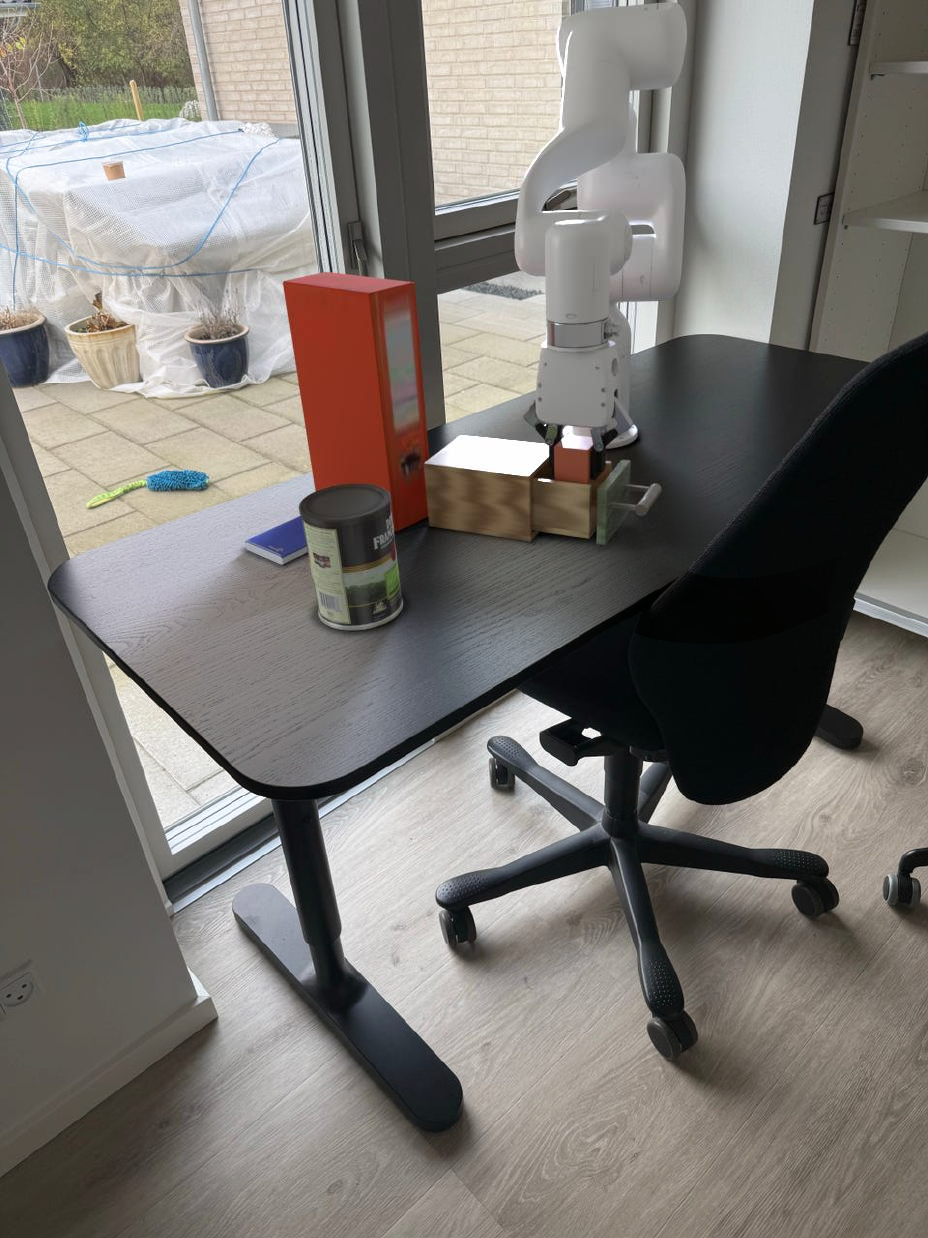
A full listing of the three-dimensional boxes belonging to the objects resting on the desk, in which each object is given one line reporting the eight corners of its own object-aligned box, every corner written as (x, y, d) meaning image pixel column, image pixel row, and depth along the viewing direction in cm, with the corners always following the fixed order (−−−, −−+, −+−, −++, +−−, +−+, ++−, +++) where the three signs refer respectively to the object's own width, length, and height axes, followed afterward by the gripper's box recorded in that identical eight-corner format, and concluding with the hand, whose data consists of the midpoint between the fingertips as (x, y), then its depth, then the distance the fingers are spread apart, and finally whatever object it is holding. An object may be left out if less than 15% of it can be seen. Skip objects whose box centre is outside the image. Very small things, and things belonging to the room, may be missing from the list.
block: (566, 467, 117) (566, 434, 115) (599, 470, 116) (599, 437, 113) (554, 479, 114) (553, 446, 112) (587, 483, 112) (588, 450, 110)
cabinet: (560, 507, 125) (560, 445, 120) (530, 541, 117) (528, 476, 112) (464, 494, 131) (460, 434, 126) (429, 526, 123) (423, 463, 118)
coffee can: (412, 588, 108) (400, 482, 101) (391, 633, 99) (377, 521, 92) (332, 585, 110) (315, 481, 102) (306, 629, 101) (285, 519, 94)
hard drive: (281, 555, 115) (351, 521, 122) (244, 539, 119) (313, 507, 127) (283, 565, 115) (352, 531, 123) (246, 549, 120) (315, 517, 128)
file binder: (357, 486, 137) (327, 270, 120) (435, 512, 126) (414, 280, 110) (317, 503, 132) (280, 281, 115) (394, 532, 122) (366, 293, 105)
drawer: (663, 517, 118) (666, 464, 114) (641, 550, 111) (644, 494, 106) (531, 500, 126) (530, 449, 122) (503, 529, 118) (500, 476, 114)
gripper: (654, 328, 105) (647, 470, 114) (524, 322, 112) (528, 457, 121) (636, 344, 99) (631, 492, 109) (500, 337, 106) (506, 477, 115)
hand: (576, 472), depth 115 cm, fingers closed on block, 4 cm apart
